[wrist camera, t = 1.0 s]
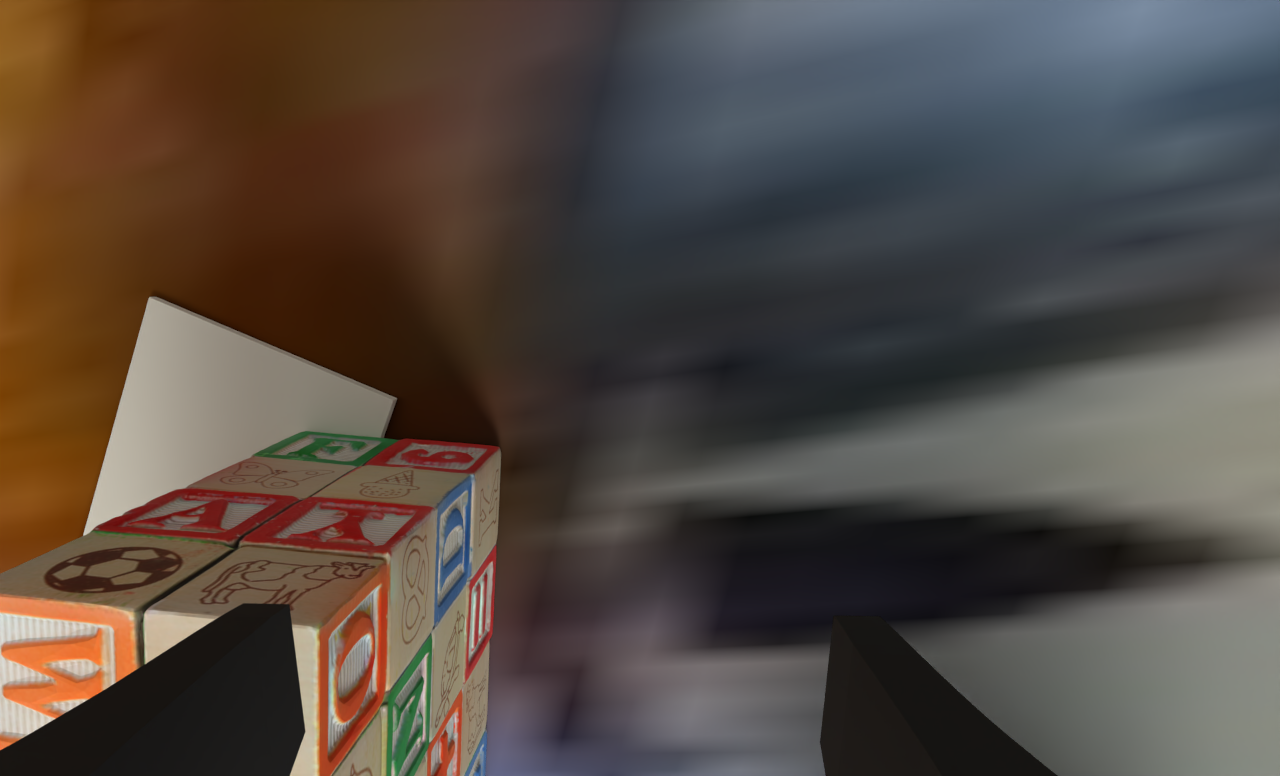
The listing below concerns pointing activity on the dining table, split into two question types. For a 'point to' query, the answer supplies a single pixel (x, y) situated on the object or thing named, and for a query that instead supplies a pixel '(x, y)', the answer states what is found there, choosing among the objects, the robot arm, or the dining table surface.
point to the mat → (216, 407)
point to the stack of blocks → (289, 596)
